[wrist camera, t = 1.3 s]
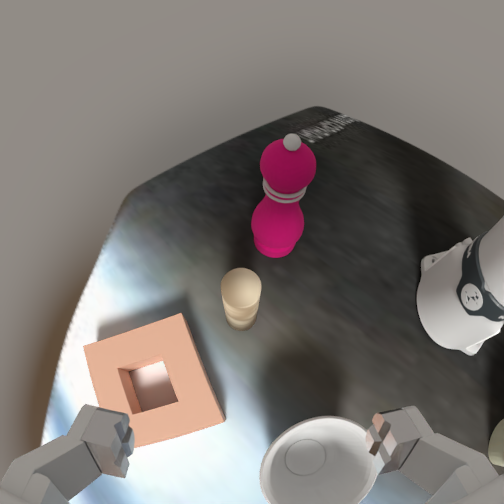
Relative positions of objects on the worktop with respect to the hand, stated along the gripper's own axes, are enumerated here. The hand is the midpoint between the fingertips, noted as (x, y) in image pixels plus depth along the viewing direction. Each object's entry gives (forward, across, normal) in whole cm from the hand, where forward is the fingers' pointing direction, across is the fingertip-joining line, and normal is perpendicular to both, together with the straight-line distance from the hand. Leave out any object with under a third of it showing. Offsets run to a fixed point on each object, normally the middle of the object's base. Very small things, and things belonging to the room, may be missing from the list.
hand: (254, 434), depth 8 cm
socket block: (+23, +10, +18) cm, 31 cm away
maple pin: (+29, 0, +11) cm, 31 cm away
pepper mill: (+37, -5, +2) cm, 38 cm away
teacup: (+15, -9, +25) cm, 31 cm away
